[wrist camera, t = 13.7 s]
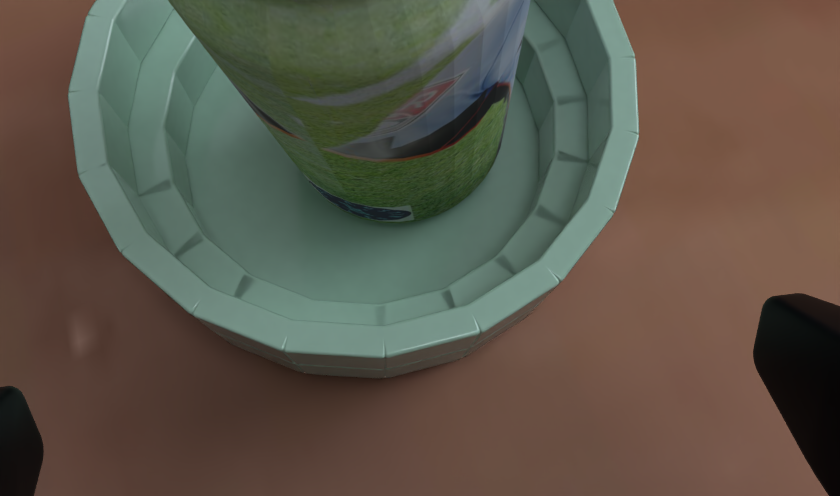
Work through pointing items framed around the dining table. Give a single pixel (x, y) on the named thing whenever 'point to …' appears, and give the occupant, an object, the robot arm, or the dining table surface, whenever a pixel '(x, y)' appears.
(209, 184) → the bowl
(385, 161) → the beverage can
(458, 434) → the dining table surface
